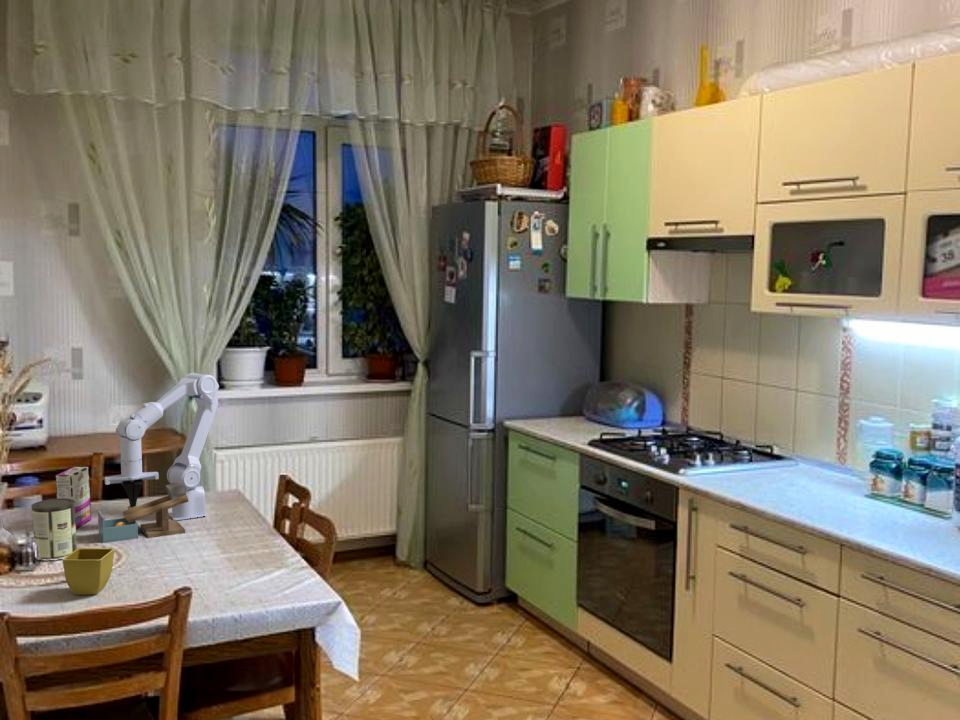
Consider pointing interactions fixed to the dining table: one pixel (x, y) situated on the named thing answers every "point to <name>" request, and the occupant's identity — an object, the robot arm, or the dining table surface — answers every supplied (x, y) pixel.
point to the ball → (120, 524)
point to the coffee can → (54, 527)
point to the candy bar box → (76, 492)
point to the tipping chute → (158, 503)
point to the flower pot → (88, 569)
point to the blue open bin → (116, 529)
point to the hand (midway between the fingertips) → (132, 505)
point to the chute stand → (162, 525)
